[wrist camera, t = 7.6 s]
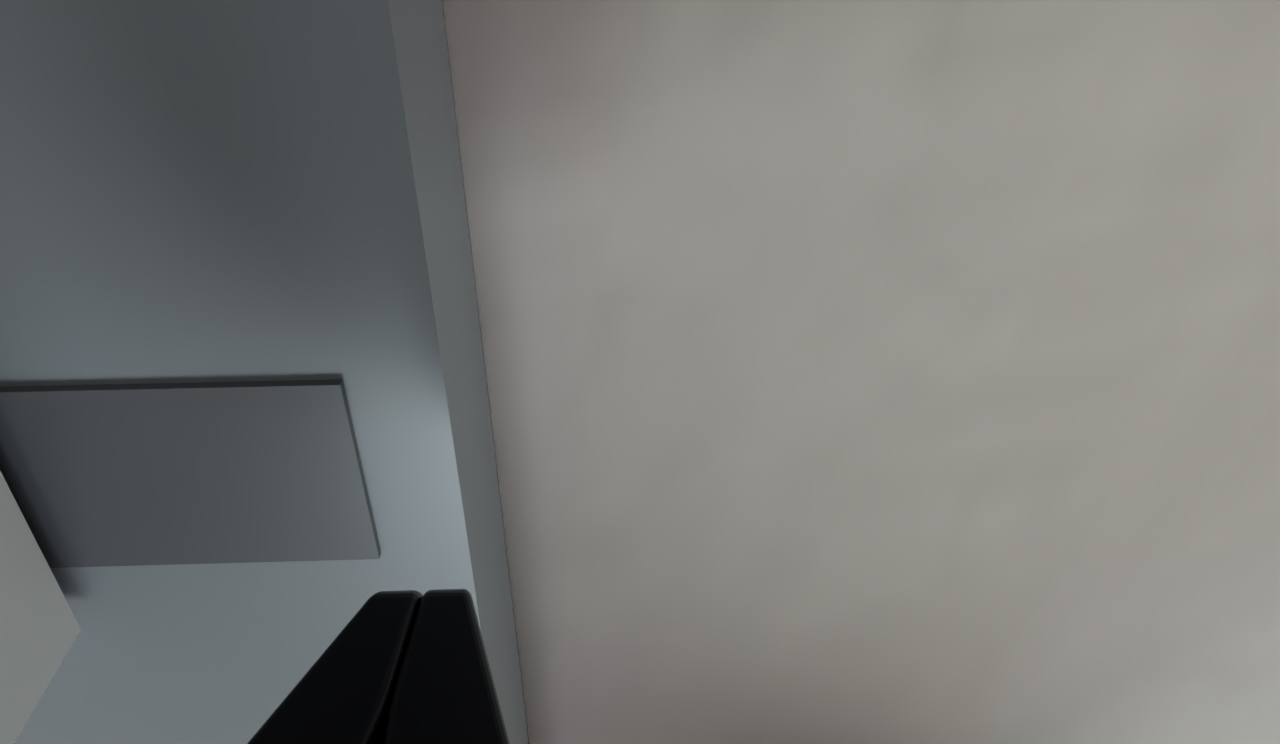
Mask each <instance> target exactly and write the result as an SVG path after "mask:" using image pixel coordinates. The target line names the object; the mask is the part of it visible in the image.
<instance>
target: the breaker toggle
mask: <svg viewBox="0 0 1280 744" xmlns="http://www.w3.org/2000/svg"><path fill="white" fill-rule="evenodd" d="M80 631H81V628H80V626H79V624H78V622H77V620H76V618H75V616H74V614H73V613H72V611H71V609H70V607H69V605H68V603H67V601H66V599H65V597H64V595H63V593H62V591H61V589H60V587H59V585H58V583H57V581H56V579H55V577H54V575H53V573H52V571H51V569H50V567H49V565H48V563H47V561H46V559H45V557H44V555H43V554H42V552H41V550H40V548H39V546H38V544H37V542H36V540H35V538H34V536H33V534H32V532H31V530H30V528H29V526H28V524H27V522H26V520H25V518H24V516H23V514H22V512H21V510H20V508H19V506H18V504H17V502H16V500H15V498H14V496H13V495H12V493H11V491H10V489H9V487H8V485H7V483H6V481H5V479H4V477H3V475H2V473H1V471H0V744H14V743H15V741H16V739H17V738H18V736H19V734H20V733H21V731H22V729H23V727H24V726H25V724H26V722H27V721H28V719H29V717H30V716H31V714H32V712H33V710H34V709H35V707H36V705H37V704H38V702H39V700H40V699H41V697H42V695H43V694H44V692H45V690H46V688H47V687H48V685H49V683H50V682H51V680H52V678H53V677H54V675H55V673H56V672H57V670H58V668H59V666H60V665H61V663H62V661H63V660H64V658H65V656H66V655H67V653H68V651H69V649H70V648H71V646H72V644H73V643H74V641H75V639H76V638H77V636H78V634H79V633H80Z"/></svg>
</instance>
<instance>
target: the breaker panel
mask: <svg viewBox="0 0 1280 744" xmlns="http://www.w3.org/2000/svg"><path fill="white" fill-rule="evenodd" d="M0 471H1V473H2V475H3V477H4V479H5V481H6V483H7V485H8V487H9V489H10V491H11V493H12V495H13V496H14V498H15V500H16V502H17V504H18V506H19V508H20V510H21V512H22V514H23V516H24V518H25V520H26V522H27V524H28V526H29V528H30V530H31V532H32V534H33V536H34V538H35V540H36V542H37V544H38V546H39V548H40V550H41V552H42V554H43V555H44V557H45V559H46V561H47V563H48V565H49V567H50V569H51V571H52V573H53V575H54V577H55V579H56V581H57V583H58V585H59V587H60V589H61V591H62V593H63V595H64V597H65V599H66V601H67V603H68V605H69V607H70V609H71V611H72V613H73V614H74V616H75V618H76V620H77V622H78V624H79V626H80V628H81V631H80V633H79V634H78V636H77V638H76V639H75V641H74V643H73V644H72V646H71V648H70V649H69V651H68V653H67V655H66V656H65V658H64V660H63V661H62V663H61V665H60V666H59V668H58V670H57V672H56V673H55V675H54V677H53V678H52V680H51V682H50V683H49V685H48V687H47V688H46V690H45V692H44V694H43V695H42V697H41V699H40V700H39V702H38V704H37V705H36V707H35V709H34V710H33V712H32V714H31V716H30V717H29V719H28V721H27V722H26V724H25V726H24V727H23V729H22V731H21V733H20V734H19V736H18V738H17V739H16V741H15V743H14V744H247V743H248V742H249V741H250V740H251V739H252V737H253V736H254V735H255V734H256V733H257V731H258V730H259V729H260V728H261V727H262V725H263V724H264V723H265V722H266V721H267V719H268V718H269V717H270V716H271V715H272V714H273V712H274V711H275V710H276V709H277V708H278V706H279V705H280V704H281V703H282V702H283V700H284V699H285V698H286V697H287V696H288V694H289V693H290V692H291V691H292V690H293V688H294V687H295V686H296V685H297V684H298V683H299V681H300V680H301V679H302V678H303V677H304V675H305V674H306V673H307V672H308V671H309V669H310V668H311V667H312V666H313V665H314V663H315V662H316V661H317V660H318V659H319V657H320V656H321V655H322V654H323V653H324V652H325V650H326V649H327V648H328V647H329V646H330V644H331V643H332V642H333V641H334V640H335V638H336V637H337V636H338V635H339V634H340V632H341V631H342V630H343V629H344V628H345V626H346V625H347V624H348V623H349V622H350V621H351V619H352V618H353V617H354V616H355V615H356V613H357V612H358V611H359V610H360V609H361V607H362V606H363V605H364V604H365V603H366V601H367V600H368V599H369V598H370V597H371V596H372V595H374V594H375V593H377V592H380V591H403V590H415V591H419V592H420V593H422V595H424V594H425V592H427V591H428V590H439V589H466V590H468V591H469V592H470V593H471V596H472V599H473V603H474V606H475V610H476V614H477V618H478V622H479V626H480V630H481V633H482V637H483V641H484V645H485V649H486V653H487V657H488V660H489V664H490V668H491V672H492V676H493V680H494V684H495V688H496V691H497V695H498V699H499V703H500V707H501V711H502V715H503V718H504V722H505V726H506V730H507V734H508V738H509V742H510V744H529V740H528V731H527V723H526V714H525V706H524V697H523V689H522V680H521V672H520V663H519V654H518V646H517V637H516V629H515V620H514V612H513V603H512V594H511V586H510V577H509V569H508V560H507V552H506V543H505V535H504V526H503V517H502V509H501V500H500V492H499V483H498V475H497V466H496V457H495V449H494V440H493V432H492V423H491V415H490V406H489V398H488V389H487V380H486V372H485V363H484V355H483V346H482V338H481V329H480V321H479V312H478V303H477V295H476V286H475V278H474V269H473V261H472V252H471V243H470V235H469V226H468V218H467V209H466V201H465V192H464V184H463V175H462V166H461V158H460V149H459V141H458V132H457V124H456V115H455V106H454V98H453V89H452V81H451V72H450V64H449V55H448V47H447V38H446V29H445V21H444V12H443V4H442V0H0Z"/></svg>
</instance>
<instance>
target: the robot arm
mask: <svg viewBox="0 0 1280 744" xmlns="http://www.w3.org/2000/svg"><path fill="white" fill-rule="evenodd" d="M247 744H510V742H509V738H508V734H507V730H506V726H505V722H504V718H503V715H502V711H501V707H500V703H499V699H498V695H497V691H496V688H495V684H494V680H493V676H492V672H491V668H490V664H489V660H488V657H487V653H486V649H485V645H484V641H483V637H482V633H481V630H480V626H479V622H478V618H477V614H476V610H475V606H474V603H473V599H472V596H471V593H470V592H469V591H468V590H466V589H439V590H428V591H427V592H425V594H424V595H422V593H420V592H419V591H415V590H403V591H380V592H377V593H375V594H374V595H372V596H371V597H370V598H369V599H368V600H367V601H366V603H365V604H364V605H363V606H362V607H361V609H360V610H359V611H358V612H357V613H356V615H355V616H354V617H353V618H352V619H351V621H350V622H349V623H348V624H347V625H346V626H345V628H344V629H343V630H342V631H341V632H340V634H339V635H338V636H337V637H336V638H335V640H334V641H333V642H332V643H331V644H330V646H329V647H328V648H327V649H326V650H325V652H324V653H323V654H322V655H321V656H320V657H319V659H318V660H317V661H316V662H315V663H314V665H313V666H312V667H311V668H310V669H309V671H308V672H307V673H306V674H305V675H304V677H303V678H302V679H301V680H300V681H299V683H298V684H297V685H296V686H295V687H294V688H293V690H292V691H291V692H290V693H289V694H288V696H287V697H286V698H285V699H284V700H283V702H282V703H281V704H280V705H279V706H278V708H277V709H276V710H275V711H274V712H273V714H272V715H271V716H270V717H269V718H268V719H267V721H266V722H265V723H264V724H263V725H262V727H261V728H260V729H259V730H258V731H257V733H256V734H255V735H254V736H253V737H252V739H251V740H250V741H249V742H248V743H247Z"/></svg>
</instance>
